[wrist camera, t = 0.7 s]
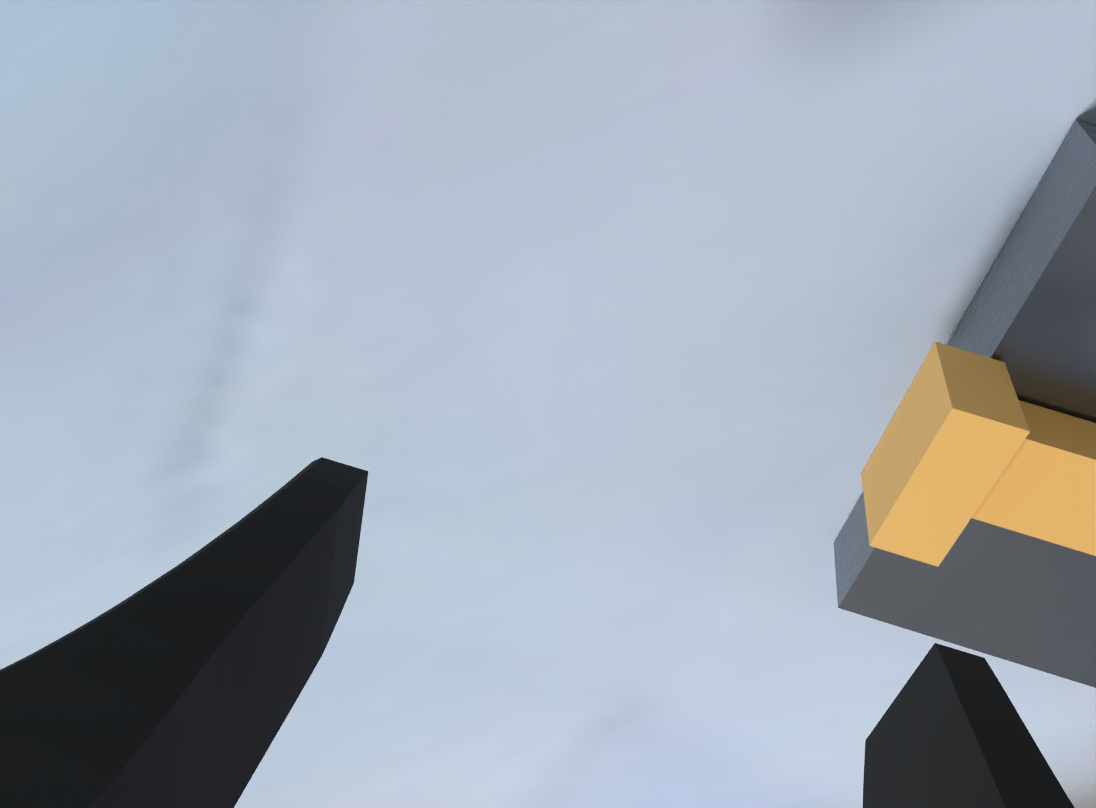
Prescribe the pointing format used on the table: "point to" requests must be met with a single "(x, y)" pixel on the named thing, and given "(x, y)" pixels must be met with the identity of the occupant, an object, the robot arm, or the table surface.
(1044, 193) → the dark grey socket tray
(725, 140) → the table surface
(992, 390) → the bar
